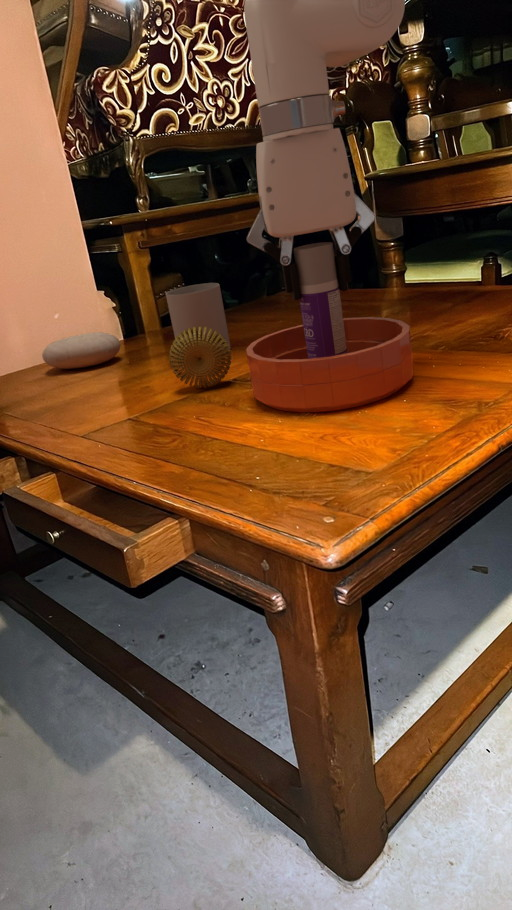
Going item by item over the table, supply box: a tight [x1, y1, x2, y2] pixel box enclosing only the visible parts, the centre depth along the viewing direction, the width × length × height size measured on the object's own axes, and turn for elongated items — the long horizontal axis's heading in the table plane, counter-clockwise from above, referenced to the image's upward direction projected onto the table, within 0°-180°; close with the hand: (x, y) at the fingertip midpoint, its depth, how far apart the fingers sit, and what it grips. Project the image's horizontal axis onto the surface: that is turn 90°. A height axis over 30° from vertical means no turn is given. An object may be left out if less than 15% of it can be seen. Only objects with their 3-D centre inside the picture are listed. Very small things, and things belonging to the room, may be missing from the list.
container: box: [293, 241, 347, 359], centre depth 81 cm, size 5×5×15 cm
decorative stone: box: [41, 332, 121, 370], centre depth 114 cm, size 13×9×5 cm
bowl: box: [245, 316, 414, 413], centre depth 80 cm, size 19×19×6 cm
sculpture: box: [168, 326, 233, 389], centre depth 89 cm, size 8×4×8 cm, turn 90°
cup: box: [165, 282, 232, 356], centre depth 107 cm, size 8×8×10 cm
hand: (319, 292), depth 80 cm, fingers closed on container, 4 cm apart
